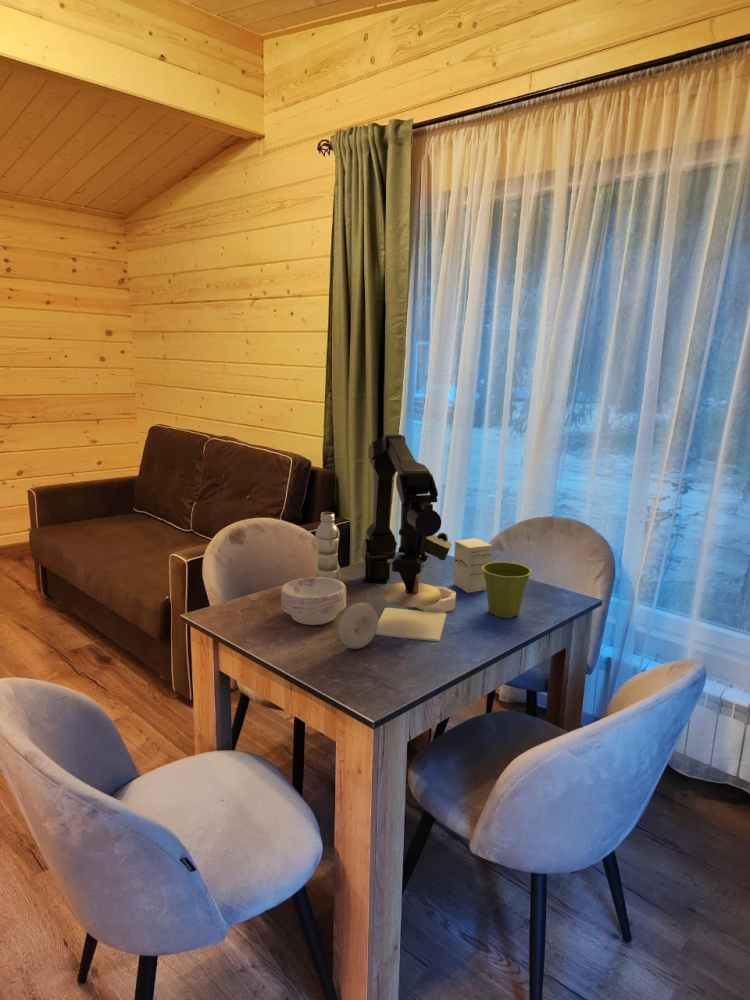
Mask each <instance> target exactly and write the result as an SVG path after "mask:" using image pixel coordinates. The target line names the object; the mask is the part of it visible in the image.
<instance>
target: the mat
mask: <svg viewBox="0 0 750 1000" xmlns="http://www.w3.org/2000/svg"><path fill="white" fill-rule="evenodd" d="M446 619H447V612H443V613H439V612H428V611H422V610H418V609H417V610H415V609H414V610H413V609H406V608H396V607H395V608H394V607H384V609H383V611H382V614H381V615H380V617H379V618H378V627H377V630H376V633H375V635H374V636H385V637H392V638H393V637H394V638H402V639H403V638H404V639H413V640H421V641H432V642H440V640H441V637H442V633H443V629H444V627H445V626H444V625H445V623H446V622H445V621H446Z"/></svg>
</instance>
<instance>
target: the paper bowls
mask: <svg viewBox="0 0 750 1000" xmlns="http://www.w3.org/2000/svg"><path fill="white" fill-rule="evenodd" d="M280 592H281V593H280V597H281V598H280V600H281V603H280V605H281V609H282V611H283V612H285V613H286V614H288V615H290V616H291V618H292V619H293V621H295V622H296V623H300V624H302V625H306V626H309V625H310V626H318V625H324V624H327V623H330V622H332V621H333V620H335V618H336V617H337V615H338V613H341V612H342V611H344V610H345V608H346V607H347V585H345V583H344V582H342V581H341V580H340V579H339V580H336V579H331V578H324V577H316V576H314V577H313V576H311V577H301V578H297V579H293V580H290V581H288V582H286V583H284V584H283V585H282V586H281V589H280Z"/></svg>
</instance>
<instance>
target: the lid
mask: <svg viewBox="0 0 750 1000" xmlns="http://www.w3.org/2000/svg"><path fill="white" fill-rule="evenodd" d="M419 581H420V575H419V574H417V576H416V581H415V585H414V590H413V593H408V591H407V589H406V587H405V584H404V582H403V581H402V582H397V583H396V582H395V583H392V584H390V585H387V586H386V587H385V588H384V589H383V598H384V600H385V601H386V602H388V603H390V604H393V605H396V606H400V607H406V608H417V607H424V606H429V605H432V604H435V603H437V602H438V601H439V600H440V591H439V590H438V589H437V588H435V587H433V586H434V585H431V584H428V583H423V582H419Z"/></svg>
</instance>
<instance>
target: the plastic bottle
mask: <svg viewBox="0 0 750 1000" xmlns="http://www.w3.org/2000/svg"><path fill="white" fill-rule="evenodd" d="M335 520H336V518H335V512H331V511H323V512H321V513H320V521H321V522H320V523H319V525H318V526H317V528H316V531H315V538H316V545H317V546H316V547H317V566H316V567H317V568H316V573H315V577H324V578H331V579H336V580H339V581H340V573H341V572H340V569H339V561H338V550H339V541H340V530H339V528H338V525H336V524H335Z"/></svg>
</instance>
